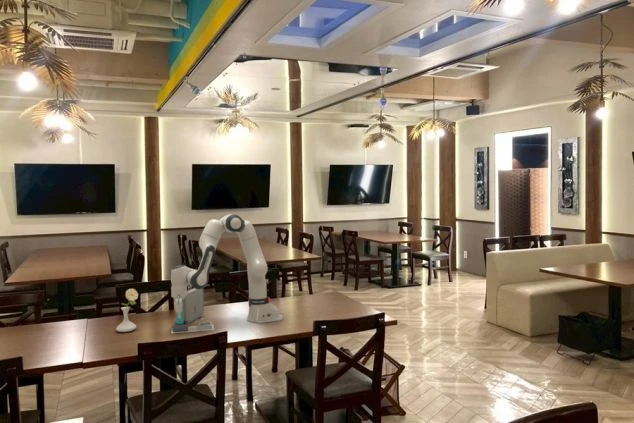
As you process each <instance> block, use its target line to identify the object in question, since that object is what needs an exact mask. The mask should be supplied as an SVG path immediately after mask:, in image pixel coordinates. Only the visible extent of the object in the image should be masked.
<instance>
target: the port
mask: <svg viewBox="0 0 634 423" xmlns="http://www.w3.org/2000/svg"><path fill="white" fill-rule="evenodd" d="M188 327H189V323H188V321H184V324H179V325H176V321H173V322H172V328H171V331H172V330H173V332H182V333H187V332H186V331H188Z"/></svg>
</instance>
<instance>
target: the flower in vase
mask: <svg viewBox="0 0 634 423" xmlns="http://www.w3.org/2000/svg"><path fill="white" fill-rule="evenodd" d="M125 298H126V299H127V300H128V302H127V303H123V302H121V305H123V306H124V307H123V306H122V307H120V309H121V310H122V312H123V320H122V322H120V323H119V325H117V326H116V329H115V331H117V332H120V333H126V332H128V333H129V332H131V331H134V330H135V329H137V325H136V324H135V323H133V321H130V319H129V312H130V311H129V310H130V308H131V306H129V305H132V306H134V305H136V304H137V302H136V300H137V299H139V293H138V291H137V290H136V289H135V288H129V289H127V290H126V291H125Z"/></svg>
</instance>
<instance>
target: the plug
mask: <svg viewBox="0 0 634 423" xmlns="http://www.w3.org/2000/svg"><path fill="white" fill-rule="evenodd" d="M175 322H176V325H179V324H184V315H183V309H182V313H181V318H178V313H176V312H175Z"/></svg>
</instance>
